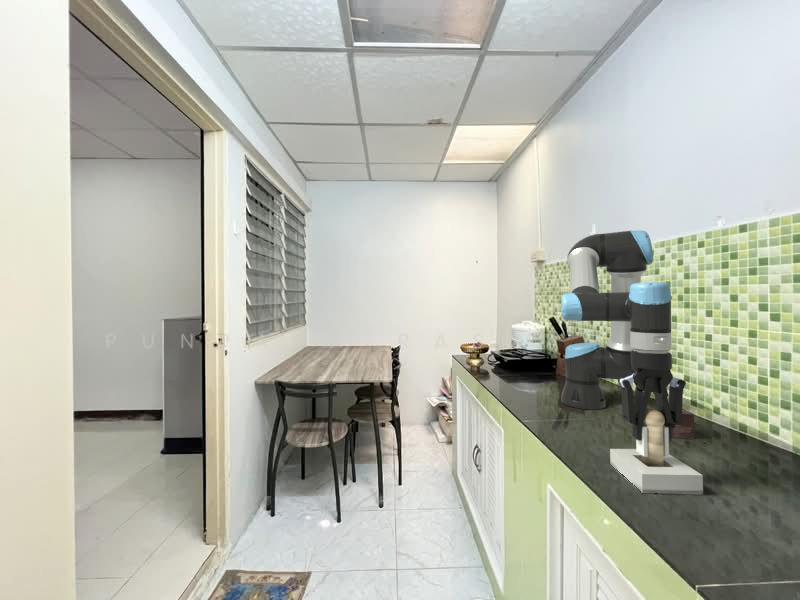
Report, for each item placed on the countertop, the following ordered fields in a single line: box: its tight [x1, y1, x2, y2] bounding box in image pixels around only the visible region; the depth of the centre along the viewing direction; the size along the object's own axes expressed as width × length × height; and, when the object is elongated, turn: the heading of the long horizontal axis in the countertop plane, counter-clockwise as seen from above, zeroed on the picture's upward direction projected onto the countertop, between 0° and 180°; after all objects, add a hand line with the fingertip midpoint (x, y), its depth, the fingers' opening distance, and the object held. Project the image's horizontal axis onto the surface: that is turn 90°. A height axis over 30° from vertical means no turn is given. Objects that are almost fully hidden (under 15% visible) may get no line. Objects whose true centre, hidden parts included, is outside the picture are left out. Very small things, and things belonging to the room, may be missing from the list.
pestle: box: [642, 407, 665, 467], centre depth 76 cm, size 5×5×14 cm
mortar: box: [609, 448, 704, 495], centre depth 76 cm, size 12×12×4 cm
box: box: [672, 407, 696, 440], centre depth 100 cm, size 6×6×7 cm
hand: (652, 453), depth 76 cm, fingers closed on pestle, 4 cm apart
